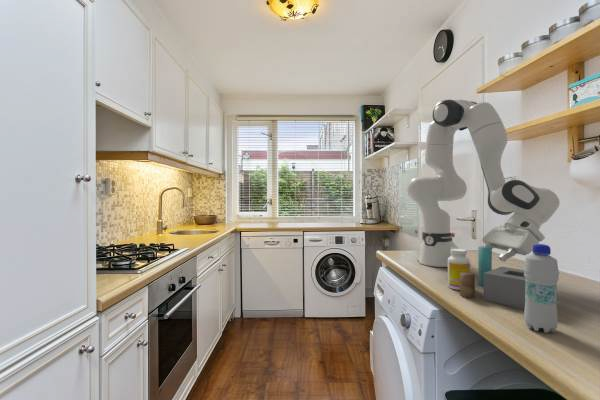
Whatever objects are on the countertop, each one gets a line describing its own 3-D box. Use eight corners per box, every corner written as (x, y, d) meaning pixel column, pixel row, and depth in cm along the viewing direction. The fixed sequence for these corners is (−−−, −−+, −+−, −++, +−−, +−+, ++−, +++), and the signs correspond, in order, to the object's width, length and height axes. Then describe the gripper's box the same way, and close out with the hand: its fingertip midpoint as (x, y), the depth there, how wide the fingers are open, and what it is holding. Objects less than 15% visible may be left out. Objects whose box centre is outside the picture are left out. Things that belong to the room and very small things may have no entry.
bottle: (563, 330, 76) (563, 244, 75) (552, 337, 72) (553, 247, 71) (529, 321, 81) (530, 241, 81) (518, 327, 77) (518, 243, 77)
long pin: (481, 282, 115) (481, 246, 115) (493, 285, 112) (493, 247, 112) (476, 284, 113) (476, 247, 112) (488, 287, 110) (488, 248, 109)
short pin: (463, 293, 103) (464, 271, 103) (477, 296, 100) (477, 273, 100) (457, 295, 101) (457, 273, 101) (470, 299, 98) (471, 276, 97)
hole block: (501, 291, 105) (501, 266, 105) (550, 301, 95) (550, 274, 95) (483, 299, 97) (483, 273, 97) (534, 312, 87) (535, 282, 87)
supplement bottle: (472, 291, 105) (472, 251, 105) (450, 290, 106) (450, 251, 106) (466, 285, 112) (466, 248, 111) (445, 284, 113) (445, 247, 113)
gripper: (494, 219, 123) (468, 245, 122) (535, 224, 102) (505, 256, 102) (505, 231, 123) (480, 257, 123) (549, 238, 103) (519, 270, 102)
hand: (492, 257), depth 112 cm, fingers open, 8 cm apart
